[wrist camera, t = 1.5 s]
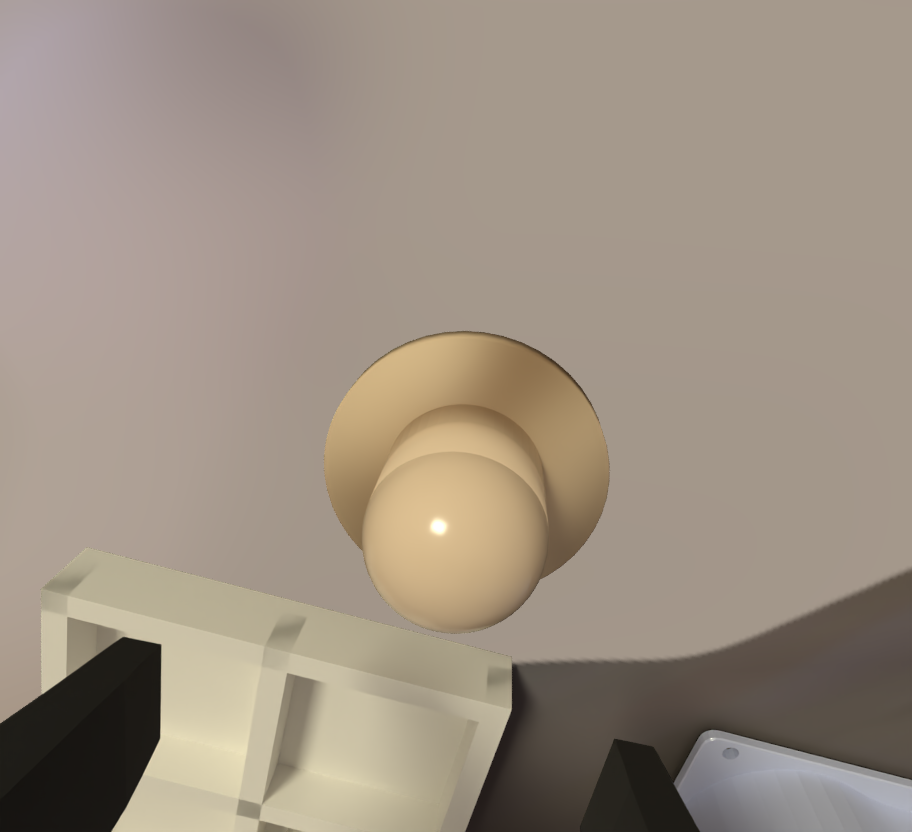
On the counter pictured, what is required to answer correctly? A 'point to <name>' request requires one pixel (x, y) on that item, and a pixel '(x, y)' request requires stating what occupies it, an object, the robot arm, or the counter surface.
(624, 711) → the counter surface
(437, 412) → the egg
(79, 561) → the egg box
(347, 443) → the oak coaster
